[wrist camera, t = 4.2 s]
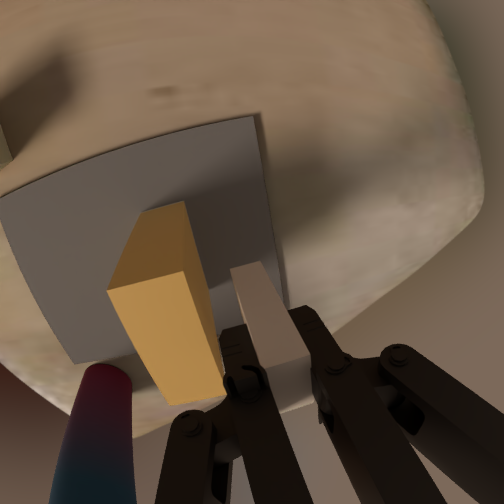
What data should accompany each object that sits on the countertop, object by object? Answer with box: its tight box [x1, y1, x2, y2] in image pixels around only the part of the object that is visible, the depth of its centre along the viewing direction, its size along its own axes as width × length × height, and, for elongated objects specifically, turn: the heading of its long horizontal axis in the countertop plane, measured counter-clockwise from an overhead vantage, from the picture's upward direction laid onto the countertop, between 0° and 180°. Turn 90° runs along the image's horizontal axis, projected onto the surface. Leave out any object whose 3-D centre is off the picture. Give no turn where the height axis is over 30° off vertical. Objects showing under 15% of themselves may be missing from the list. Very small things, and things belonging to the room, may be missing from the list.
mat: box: [0, 116, 284, 364], centre depth 20 cm, size 16×20×1 cm
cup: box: [49, 364, 137, 504], centre depth 18 cm, size 7×7×15 cm
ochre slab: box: [107, 201, 227, 406], centre depth 16 cm, size 7×3×10 cm, turn 10°
